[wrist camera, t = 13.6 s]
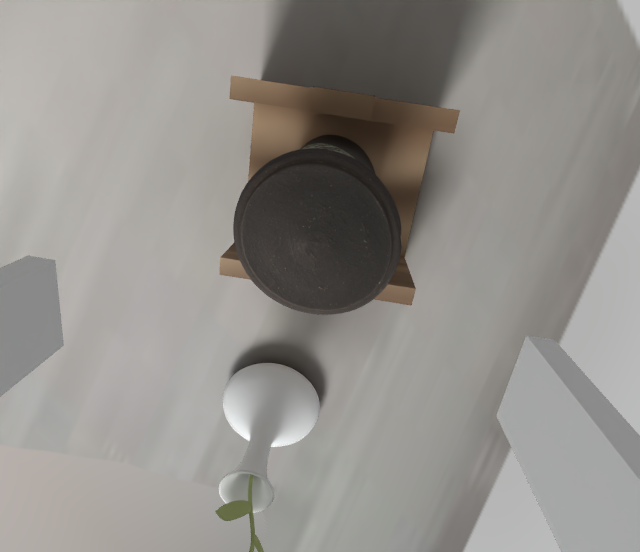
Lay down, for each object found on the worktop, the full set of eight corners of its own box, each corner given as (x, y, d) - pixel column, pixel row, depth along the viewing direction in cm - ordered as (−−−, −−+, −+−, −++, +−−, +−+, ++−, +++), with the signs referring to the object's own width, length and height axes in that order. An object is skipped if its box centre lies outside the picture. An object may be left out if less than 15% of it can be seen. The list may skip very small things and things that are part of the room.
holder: (259, 84, 38) (220, 72, 27) (434, 111, 38) (468, 110, 27) (246, 241, 43) (210, 285, 32) (399, 266, 43) (415, 318, 32)
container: (358, 116, 37) (363, 118, 18) (393, 209, 40) (429, 293, 21) (270, 156, 39) (194, 195, 20) (310, 242, 41) (275, 347, 23)
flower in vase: (216, 361, 49) (92, 584, 26) (311, 349, 48) (270, 574, 24) (243, 448, 54) (158, 704, 30) (330, 439, 52) (313, 703, 29)
